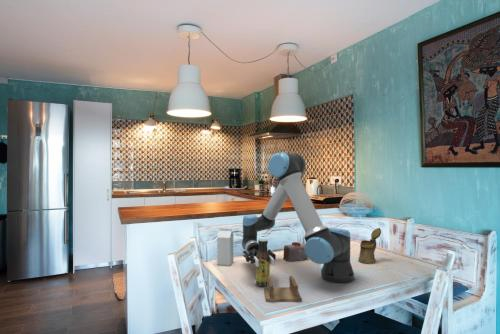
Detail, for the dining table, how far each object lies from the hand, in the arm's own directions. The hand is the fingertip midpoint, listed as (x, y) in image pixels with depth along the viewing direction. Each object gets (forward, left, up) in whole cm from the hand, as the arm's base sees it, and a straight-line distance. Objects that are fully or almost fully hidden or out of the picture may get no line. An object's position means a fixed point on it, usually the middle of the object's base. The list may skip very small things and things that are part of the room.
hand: (265, 263), depth 138 cm
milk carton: (+19, -37, -11) cm, 43 cm away
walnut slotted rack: (-6, +7, -11) cm, 15 cm away
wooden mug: (-61, -38, -11) cm, 73 cm away
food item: (-21, -43, -12) cm, 49 cm away
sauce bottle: (+1, -5, -11) cm, 12 cm away
